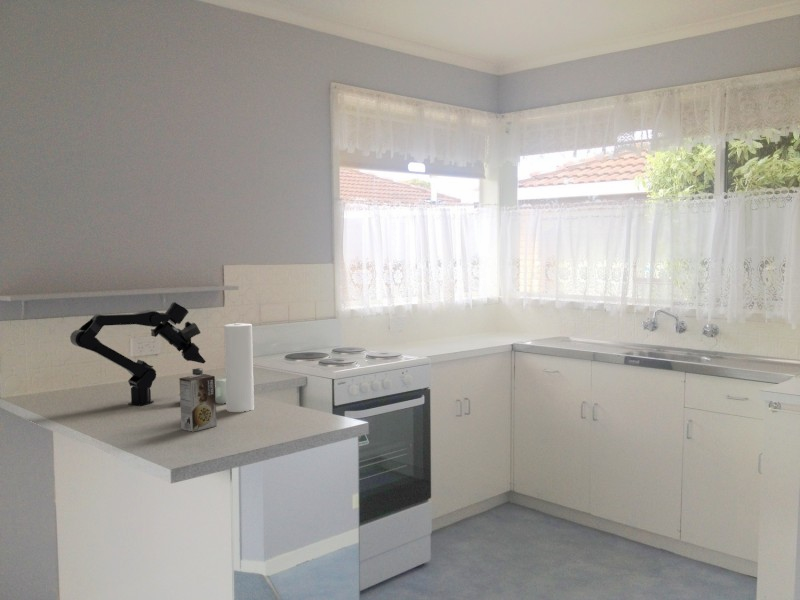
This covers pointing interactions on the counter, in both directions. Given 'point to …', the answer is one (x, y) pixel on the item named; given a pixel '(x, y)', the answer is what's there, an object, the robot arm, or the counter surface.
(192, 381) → the cookie box
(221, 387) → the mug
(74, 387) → the counter surface
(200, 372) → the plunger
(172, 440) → the counter surface
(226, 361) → the paper towel roll
